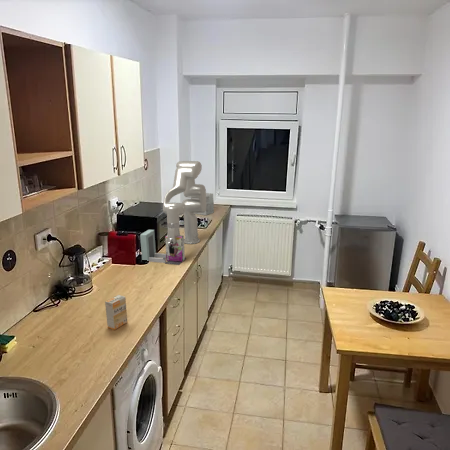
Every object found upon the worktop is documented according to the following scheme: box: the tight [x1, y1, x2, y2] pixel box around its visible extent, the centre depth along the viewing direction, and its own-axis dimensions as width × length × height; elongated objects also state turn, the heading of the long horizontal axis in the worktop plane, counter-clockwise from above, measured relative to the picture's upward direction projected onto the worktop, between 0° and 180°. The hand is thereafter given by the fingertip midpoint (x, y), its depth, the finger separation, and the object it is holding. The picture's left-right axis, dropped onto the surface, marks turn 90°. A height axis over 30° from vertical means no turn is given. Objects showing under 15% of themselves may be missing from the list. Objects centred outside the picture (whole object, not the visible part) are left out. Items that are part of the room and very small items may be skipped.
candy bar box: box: [164, 234, 186, 263], centre depth 262 cm, size 11×5×16 cm, turn 81°
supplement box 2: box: [190, 192, 215, 216], centre depth 382 cm, size 17×13×18 cm
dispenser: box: [139, 229, 167, 264], centre depth 266 cm, size 12×16×18 cm
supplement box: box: [104, 294, 128, 331], centre depth 185 cm, size 8×5×13 cm, turn 148°
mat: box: [164, 257, 187, 266], centre depth 264 cm, size 12×10×1 cm
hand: (174, 251), depth 263 cm, fingers open, 9 cm apart
